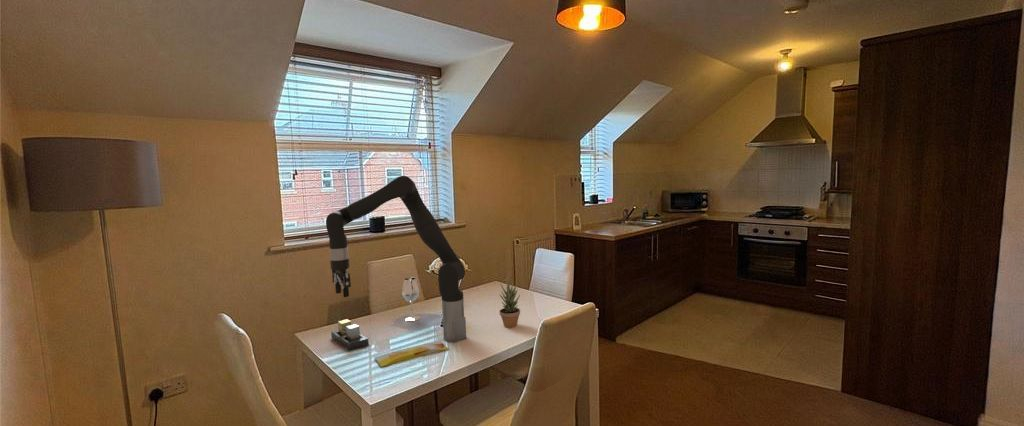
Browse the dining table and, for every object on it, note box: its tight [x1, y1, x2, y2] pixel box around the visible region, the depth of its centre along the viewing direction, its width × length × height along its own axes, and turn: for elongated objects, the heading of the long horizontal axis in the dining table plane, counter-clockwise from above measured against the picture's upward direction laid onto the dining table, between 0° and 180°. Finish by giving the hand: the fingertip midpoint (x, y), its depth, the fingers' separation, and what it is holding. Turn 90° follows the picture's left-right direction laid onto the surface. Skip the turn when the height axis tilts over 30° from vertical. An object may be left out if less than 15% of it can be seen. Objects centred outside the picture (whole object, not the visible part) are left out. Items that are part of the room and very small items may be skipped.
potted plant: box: [498, 273, 521, 329], centre depth 197 cm, size 10×10×25 cm
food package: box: [374, 340, 450, 367], centre depth 170 cm, size 27×2×10 cm
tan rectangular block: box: [337, 318, 352, 336], centre depth 188 cm, size 4×4×8 cm
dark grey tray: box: [330, 329, 370, 352], centre depth 185 cm, size 20×8×3 cm, turn 42°
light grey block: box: [346, 323, 361, 342], centre depth 181 cm, size 4×4×8 cm
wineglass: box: [402, 277, 421, 322], centre depth 211 cm, size 8×8×20 cm
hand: (342, 294), depth 186 cm, fingers open, 8 cm apart
